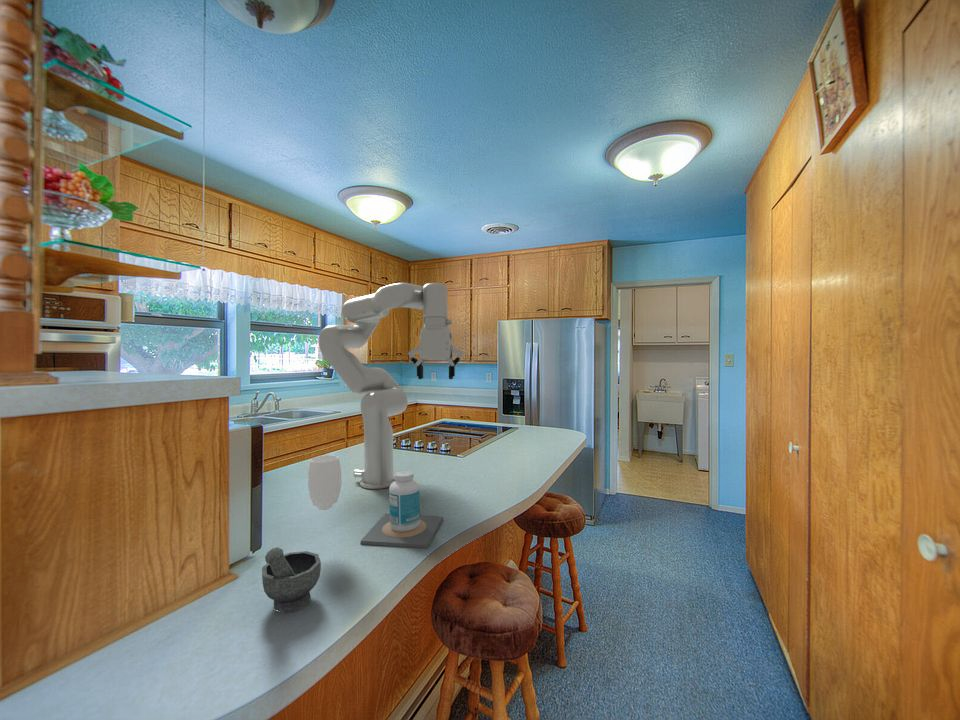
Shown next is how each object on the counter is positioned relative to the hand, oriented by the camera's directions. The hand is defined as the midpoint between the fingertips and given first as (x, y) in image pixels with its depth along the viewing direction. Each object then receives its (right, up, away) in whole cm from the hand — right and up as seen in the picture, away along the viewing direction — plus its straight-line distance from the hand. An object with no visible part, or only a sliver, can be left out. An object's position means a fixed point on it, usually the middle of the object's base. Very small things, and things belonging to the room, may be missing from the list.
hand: (435, 378), depth 126 cm
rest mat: (-5, -37, -25) cm, 45 cm away
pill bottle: (-5, -36, -24) cm, 44 cm away
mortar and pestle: (-20, -38, -54) cm, 69 cm away
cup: (-22, -38, -33) cm, 55 cm away
